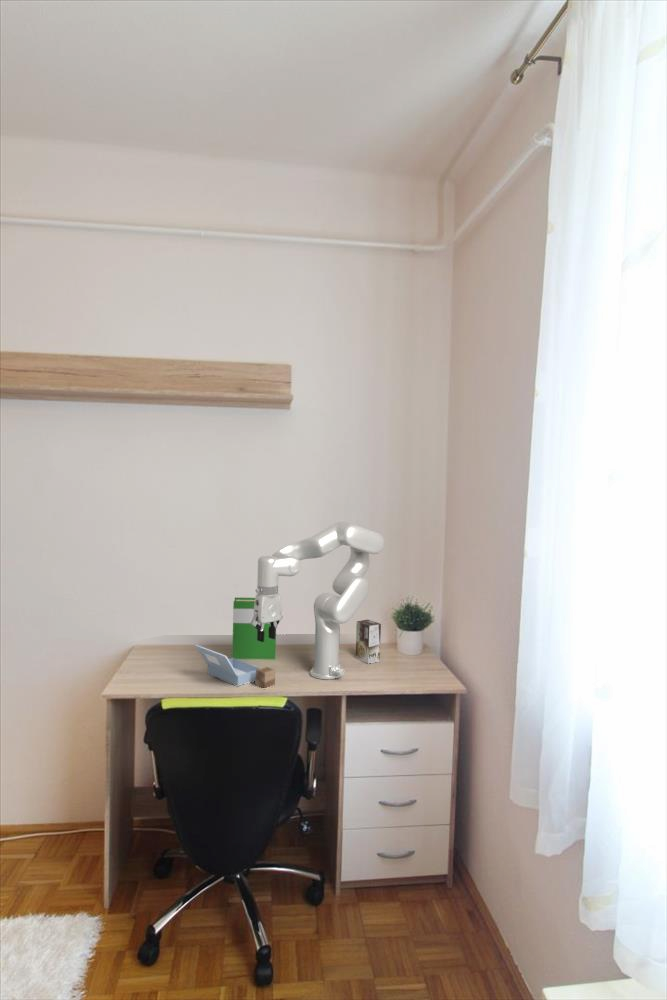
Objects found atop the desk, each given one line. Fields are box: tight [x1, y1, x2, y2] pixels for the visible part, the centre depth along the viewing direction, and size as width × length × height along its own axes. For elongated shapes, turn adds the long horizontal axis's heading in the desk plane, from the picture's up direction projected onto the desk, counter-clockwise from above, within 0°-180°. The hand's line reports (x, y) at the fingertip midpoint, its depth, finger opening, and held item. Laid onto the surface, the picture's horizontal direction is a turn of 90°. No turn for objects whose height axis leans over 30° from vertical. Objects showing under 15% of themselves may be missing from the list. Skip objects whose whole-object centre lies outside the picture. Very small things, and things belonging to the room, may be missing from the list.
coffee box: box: [355, 619, 382, 665], centre depth 278 cm, size 9×6×16 cm
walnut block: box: [255, 666, 276, 689], centre depth 244 cm, size 5×5×6 cm
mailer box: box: [207, 657, 262, 687], centre depth 253 cm, size 18×12×4 cm, turn 47°
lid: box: [195, 644, 238, 676], centre depth 246 cm, size 18×10×1 cm
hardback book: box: [231, 597, 277, 660], centre depth 279 cm, size 18×7×24 cm, turn 94°
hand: (266, 639), depth 243 cm, fingers open, 4 cm apart
